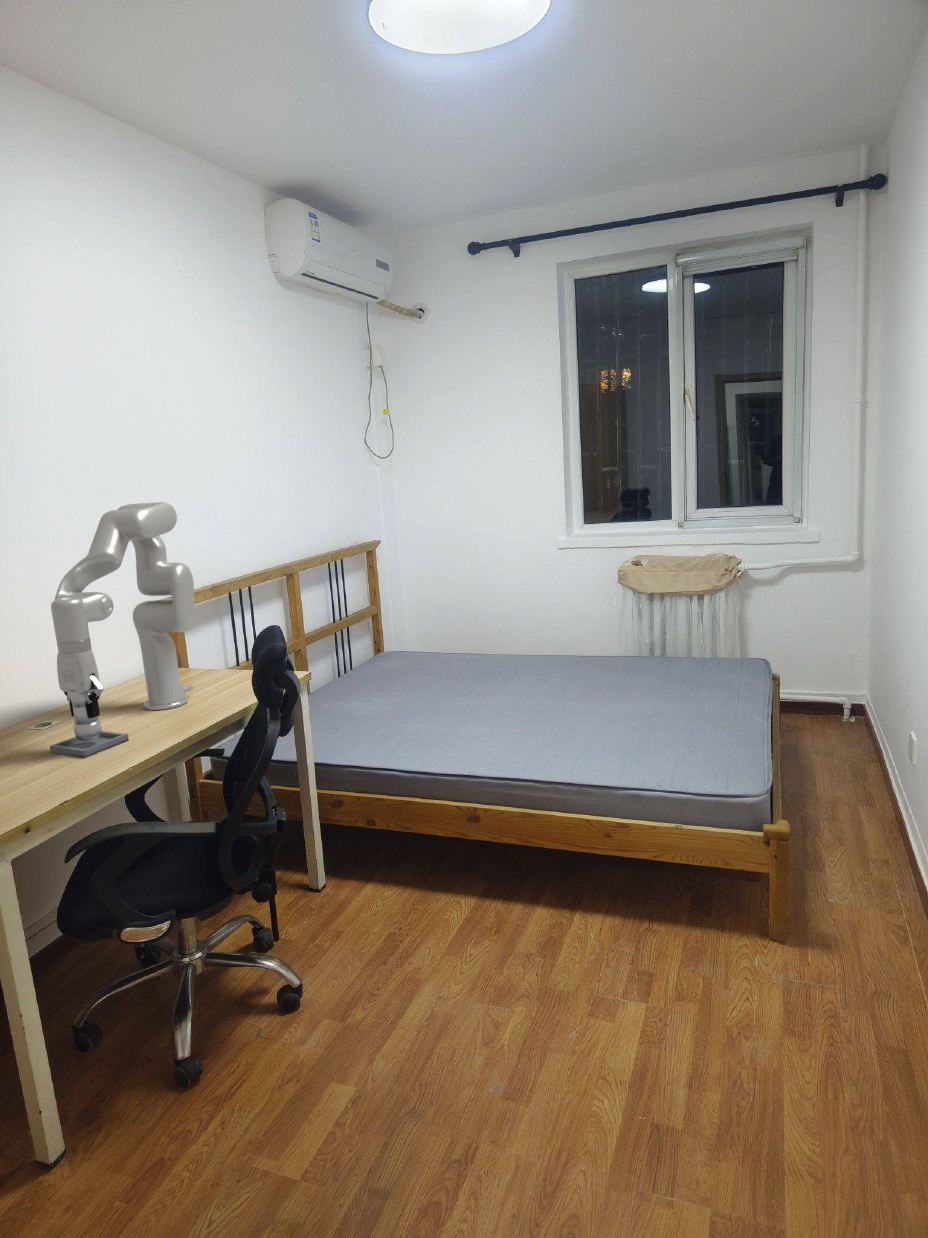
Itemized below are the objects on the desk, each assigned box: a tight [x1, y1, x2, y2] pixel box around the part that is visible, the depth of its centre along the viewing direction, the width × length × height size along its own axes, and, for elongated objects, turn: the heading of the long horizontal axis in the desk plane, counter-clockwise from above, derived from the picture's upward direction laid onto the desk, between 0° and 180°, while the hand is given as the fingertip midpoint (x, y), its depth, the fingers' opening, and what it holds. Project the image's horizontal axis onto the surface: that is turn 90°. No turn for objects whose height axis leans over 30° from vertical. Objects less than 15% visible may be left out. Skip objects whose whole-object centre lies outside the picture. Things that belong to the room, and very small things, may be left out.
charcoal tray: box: [49, 730, 130, 759], centre depth 202 cm, size 13×13×2 cm
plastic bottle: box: [67, 682, 103, 741], centre depth 200 cm, size 6×7×20 cm
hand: (85, 715), depth 200 cm, fingers closed on plastic bottle, 5 cm apart
